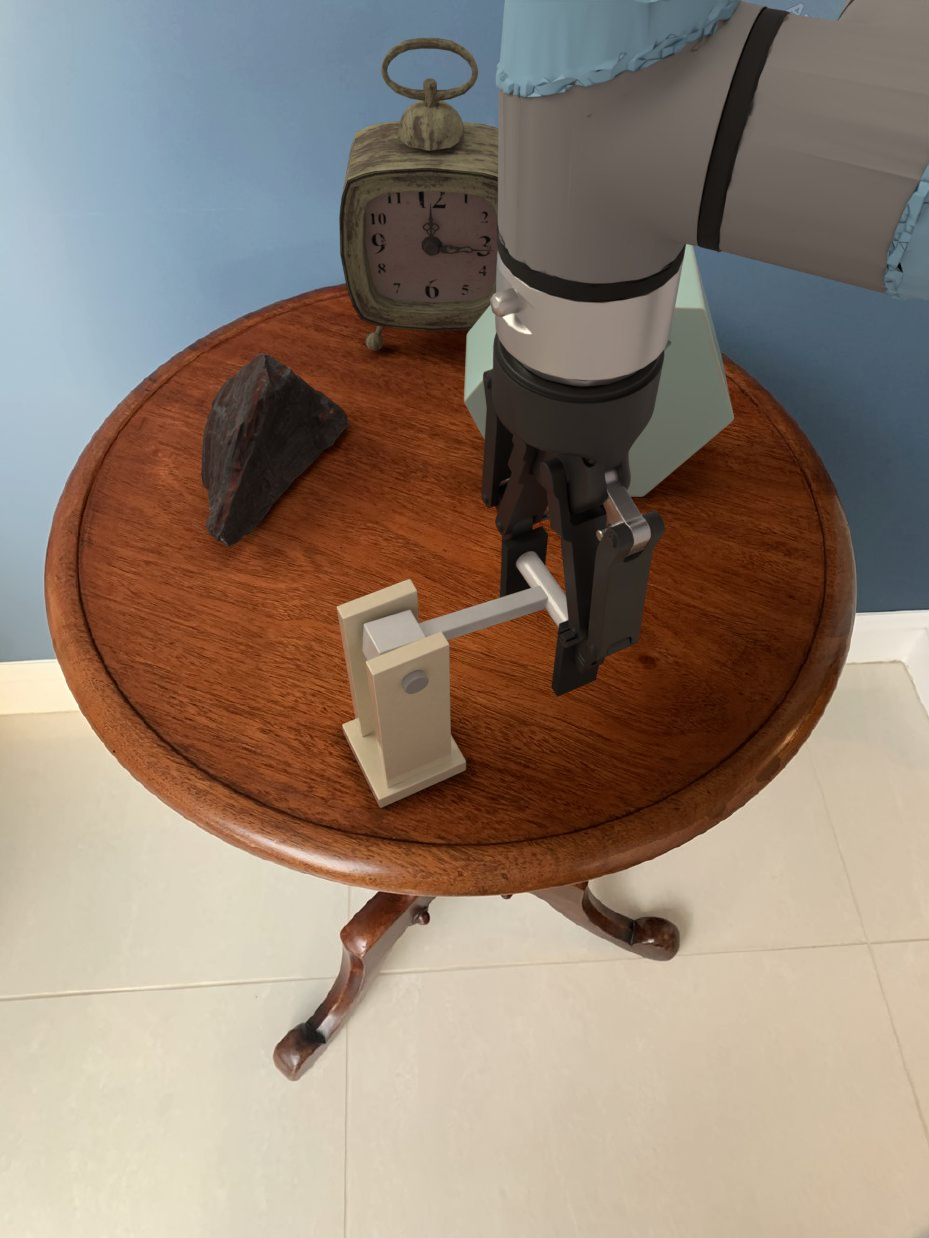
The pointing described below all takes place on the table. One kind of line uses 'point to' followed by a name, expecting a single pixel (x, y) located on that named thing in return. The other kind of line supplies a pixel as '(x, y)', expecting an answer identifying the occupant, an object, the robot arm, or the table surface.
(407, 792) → the faucet bracket
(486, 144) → the tabletop clock
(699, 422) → the planter
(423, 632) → the faucet handle
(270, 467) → the rock
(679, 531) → the table surface
